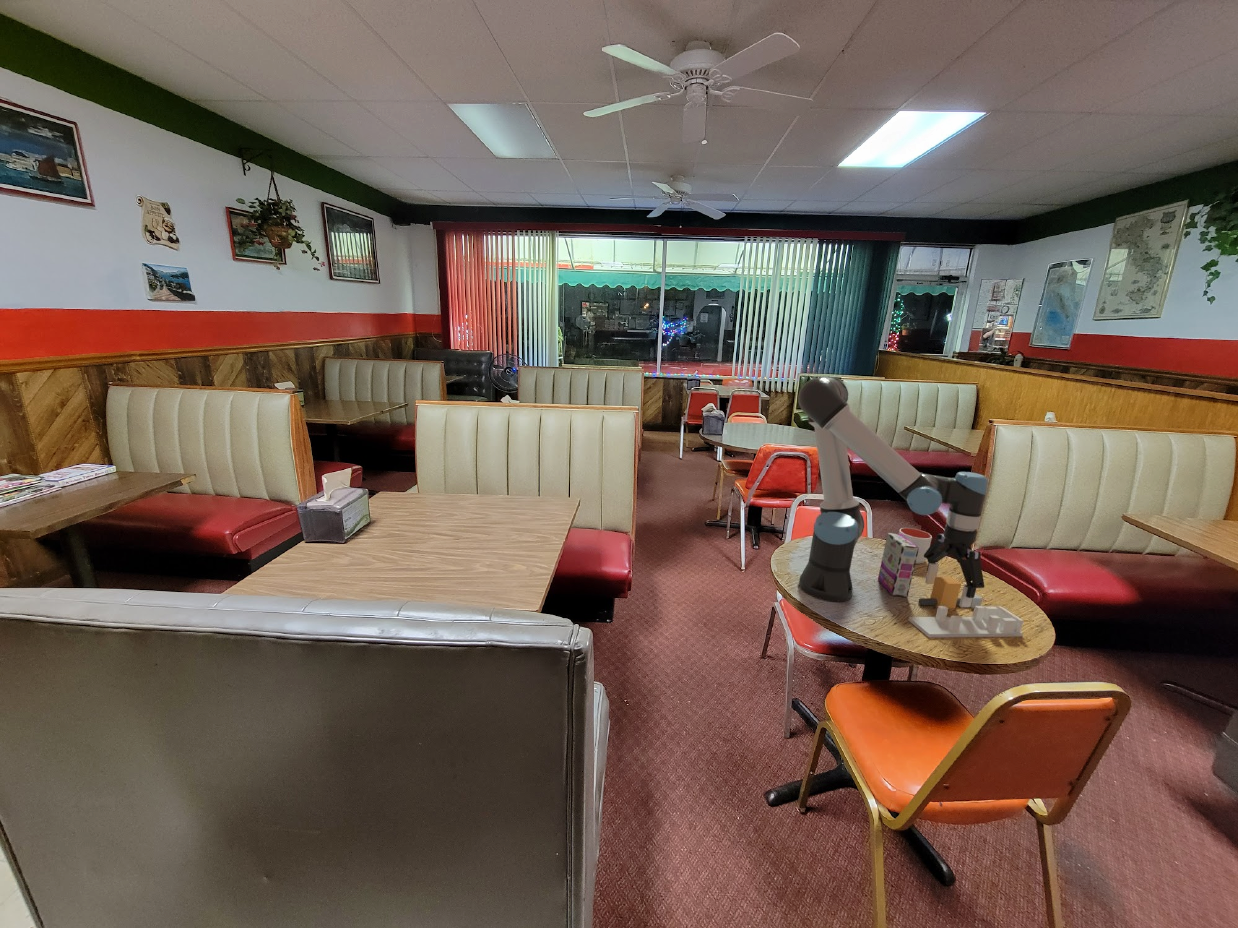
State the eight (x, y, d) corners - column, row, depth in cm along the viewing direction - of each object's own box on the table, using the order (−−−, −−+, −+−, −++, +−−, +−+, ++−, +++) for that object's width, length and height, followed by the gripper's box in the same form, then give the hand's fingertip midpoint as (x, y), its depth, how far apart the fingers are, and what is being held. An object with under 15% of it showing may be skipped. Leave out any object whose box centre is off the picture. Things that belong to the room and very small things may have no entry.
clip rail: (928, 637, 128) (932, 620, 126) (908, 620, 135) (912, 604, 134) (1022, 636, 130) (1027, 619, 129) (997, 619, 138) (1001, 603, 137)
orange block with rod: (925, 608, 142) (930, 583, 140) (915, 601, 146) (921, 576, 144) (981, 608, 144) (988, 583, 142) (970, 601, 148) (977, 577, 146)
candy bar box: (909, 597, 148) (920, 547, 144) (891, 596, 148) (902, 546, 144) (893, 580, 158) (903, 533, 154) (877, 578, 159) (886, 531, 155)
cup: (927, 567, 169) (933, 540, 167) (895, 560, 173) (900, 534, 171) (924, 556, 178) (930, 531, 176) (893, 550, 182) (898, 525, 180)
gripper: (1012, 544, 127) (993, 617, 132) (941, 511, 151) (928, 574, 156) (985, 544, 126) (968, 617, 131) (918, 511, 150) (906, 574, 155)
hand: (946, 594), depth 144 cm, fingers open, 13 cm apart
